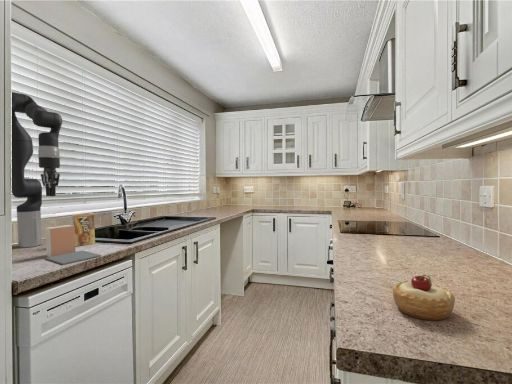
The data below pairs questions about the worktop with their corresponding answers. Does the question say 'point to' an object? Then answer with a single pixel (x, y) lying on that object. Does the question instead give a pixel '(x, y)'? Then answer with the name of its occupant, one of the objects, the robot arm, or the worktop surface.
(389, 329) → the worktop surface
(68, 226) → the tan block
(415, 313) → the pastry
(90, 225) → the candy box
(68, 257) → the mat
